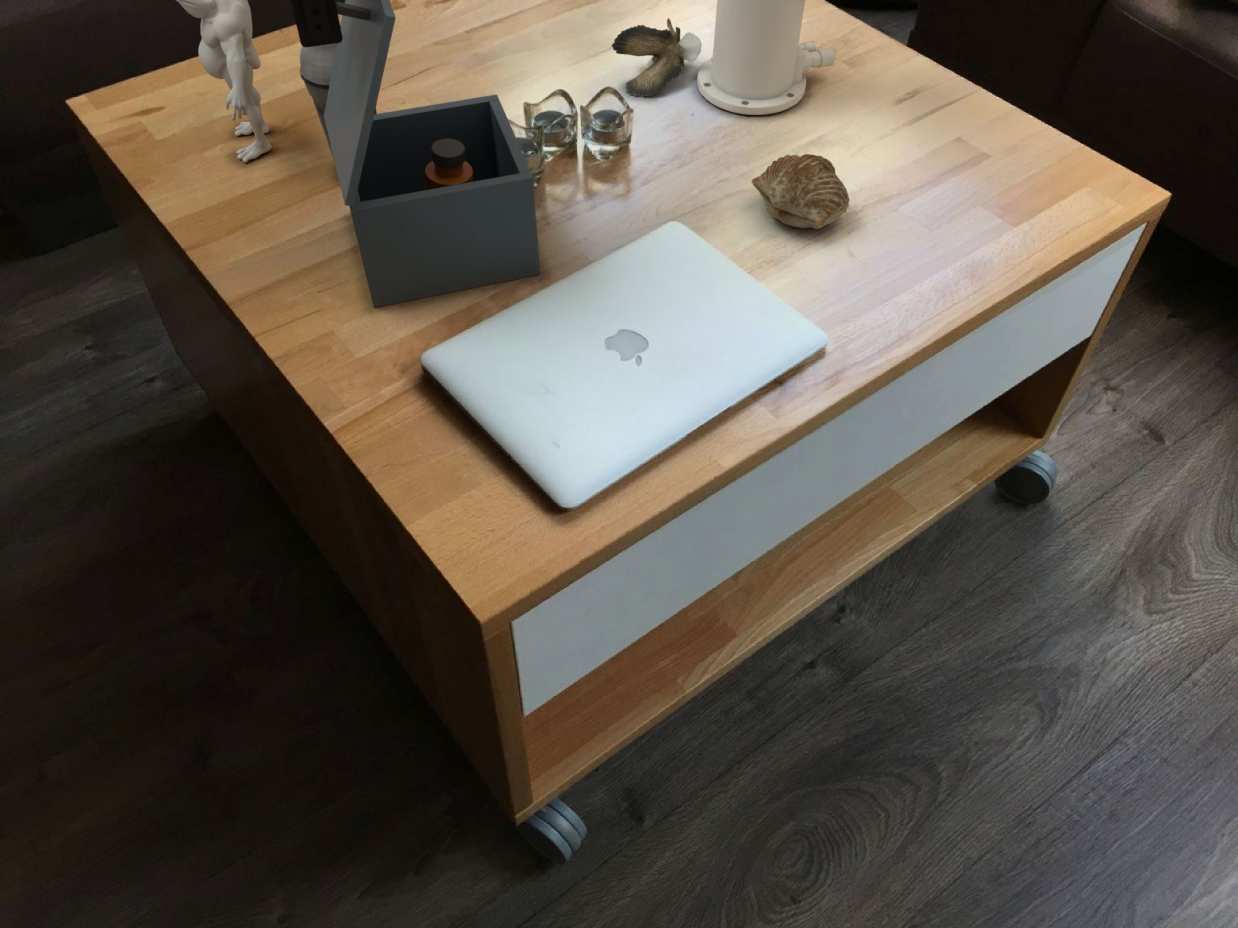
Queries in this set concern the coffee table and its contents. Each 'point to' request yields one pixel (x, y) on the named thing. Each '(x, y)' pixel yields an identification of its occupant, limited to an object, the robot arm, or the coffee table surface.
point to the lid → (356, 85)
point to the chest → (444, 204)
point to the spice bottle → (447, 165)
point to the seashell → (803, 191)
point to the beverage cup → (318, 76)
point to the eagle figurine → (656, 55)
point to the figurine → (232, 63)
